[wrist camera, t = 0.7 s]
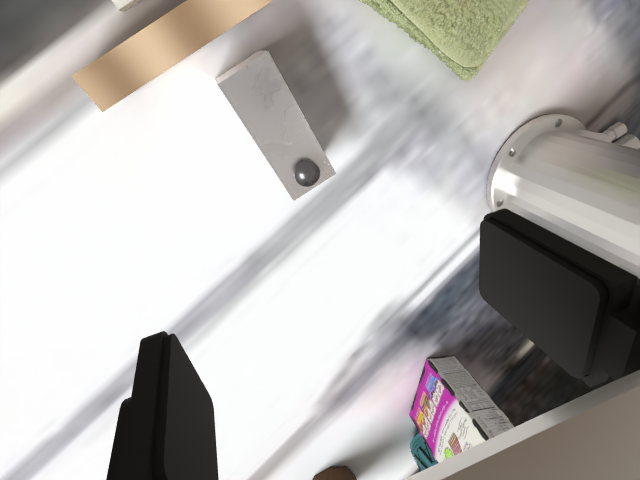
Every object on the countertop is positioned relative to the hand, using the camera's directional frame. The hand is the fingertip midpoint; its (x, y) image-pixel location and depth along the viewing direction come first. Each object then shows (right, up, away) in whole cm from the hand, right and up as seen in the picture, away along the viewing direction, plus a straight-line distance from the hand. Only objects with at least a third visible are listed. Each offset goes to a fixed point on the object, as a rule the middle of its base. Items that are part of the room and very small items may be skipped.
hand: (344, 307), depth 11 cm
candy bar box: (+15, -19, +43) cm, 49 cm away
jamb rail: (-10, +17, +16) cm, 26 cm away
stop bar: (-5, +12, +21) cm, 24 cm away
